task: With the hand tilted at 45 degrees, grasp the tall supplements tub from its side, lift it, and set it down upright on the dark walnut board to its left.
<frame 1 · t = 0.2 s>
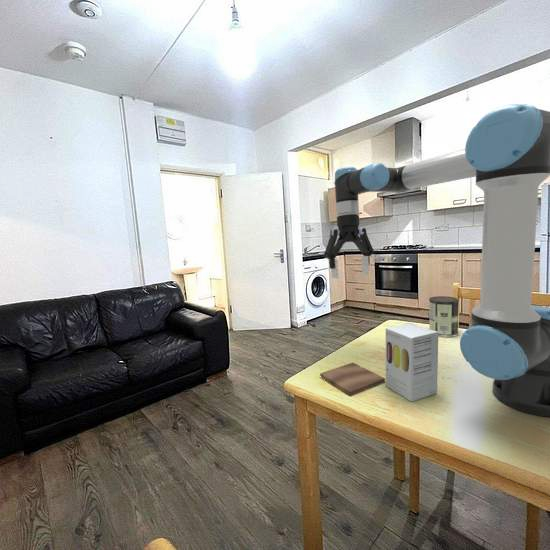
hand: (350, 276, 105), 27 cm above the table, tool pointing down, fingers open, 13 cm apart
walnut board: (351, 379, 88), on the table
coffee can: (443, 333, 121), on the table
supplement box: (410, 390, 81), on the table
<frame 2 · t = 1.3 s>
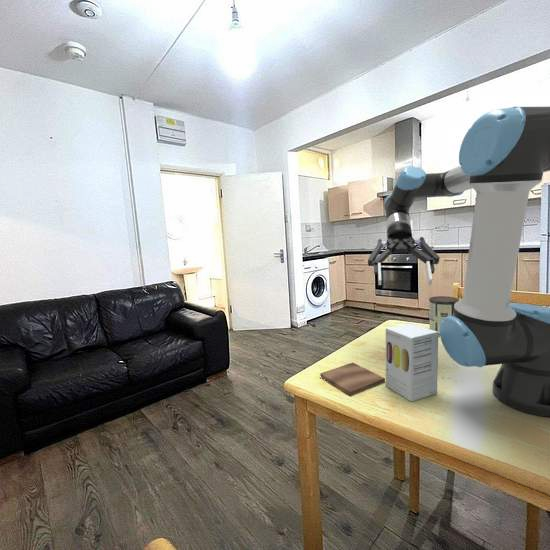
hand: (404, 282, 87), 27 cm above the table, tool tilted 45°, fingers open, 13 cm apart
nothing on the table moved.
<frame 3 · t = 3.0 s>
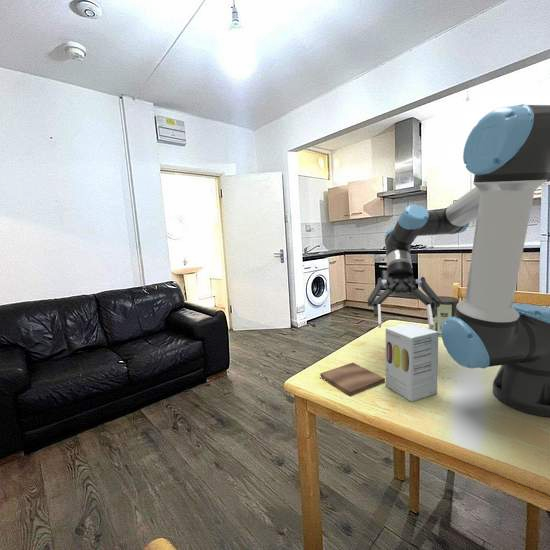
hand: (405, 326, 85), 15 cm above the table, tool tilted 45°, fingers open, 13 cm apart
nothing on the table moved.
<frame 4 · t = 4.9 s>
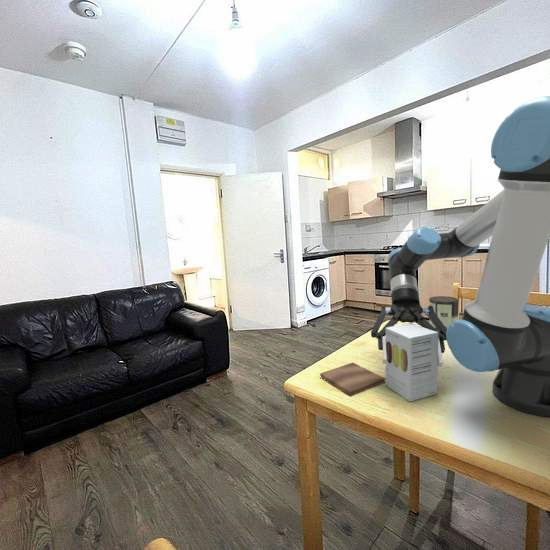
hand: (412, 363, 77), 9 cm above the table, tool tilted 45°, fingers closed on supplement box, 12 cm apart
supplement box: (410, 390, 81), on the table, touching gripper
everything else where it was.
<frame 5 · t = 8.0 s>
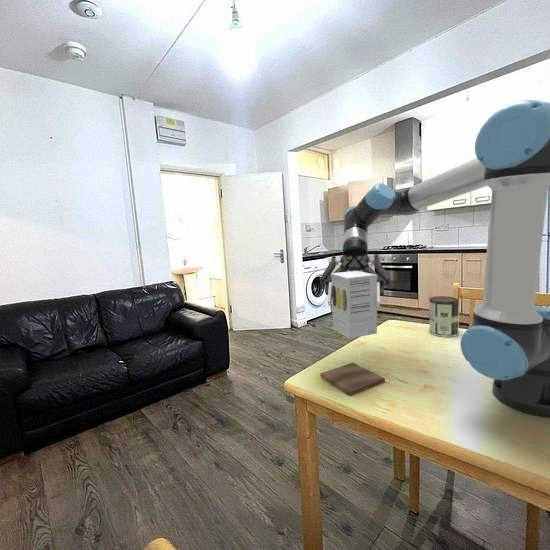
hand: (353, 304, 83), 23 cm above the table, tool tilted 45°, fingers closed on supplement box, 12 cm apart
supplement box: (354, 331, 86), point 14 cm above the table, touching gripper
everything else where it was.
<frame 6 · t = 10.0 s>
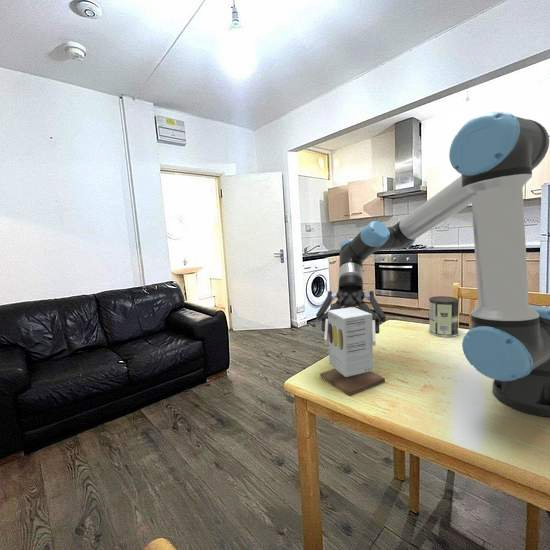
hand: (349, 342, 84), 12 cm above the table, tool tilted 45°, fingers closed on supplement box, 12 cm apart
supplement box: (350, 368, 88), point 3 cm above the table, touching gripper
everything else where it was.
when the fingers open (11 cm above the table, at t = 11.0 s): supplement box drops 1 cm, resting on walnut board.
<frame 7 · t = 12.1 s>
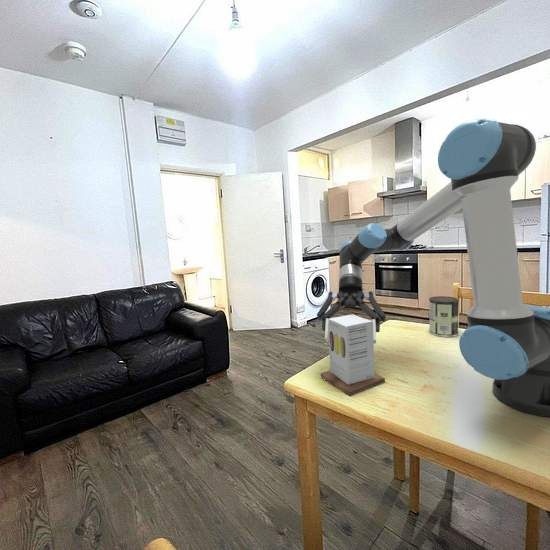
hand: (350, 341, 87), 12 cm above the table, tool tilted 45°, fingers open, 13 cm apart
supplement box: (351, 375, 88), point 1 cm above the table, touching walnut board
everything else where it was.
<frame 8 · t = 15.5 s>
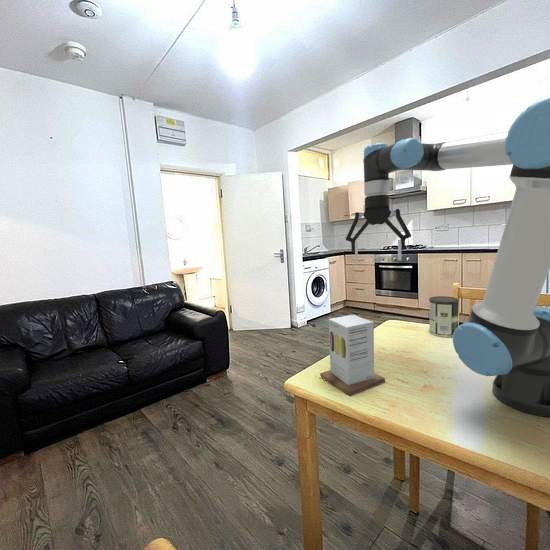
hand: (377, 260, 100), 33 cm above the table, tool pointing down, fingers open, 13 cm apart
nothing on the table moved.
at the end: supplement box inside the target area on the walnut board (0.3 cm from its centre), point 1.0 cm above the walnut board's base; supplement box tilted 0°; the gripper is holding nothing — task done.
